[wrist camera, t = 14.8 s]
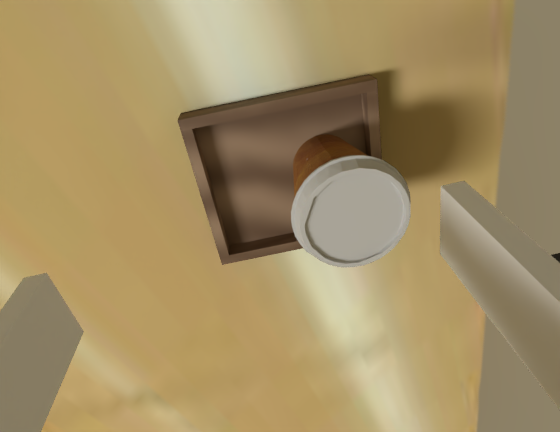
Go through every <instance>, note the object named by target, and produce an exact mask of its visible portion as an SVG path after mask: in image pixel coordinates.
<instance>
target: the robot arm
mask: <svg viewBox="0 0 560 432" xmlns="http://www.w3.org/2000/svg"><path fill="white" fill-rule="evenodd" d="M440 254H441V256H442V257H443V258H444V259H445V261H446V262H447V263H448V265H449V266H450V267H451V269H452V270H453V271H454V273H455V274H456V275H457V277H458V278H459V279H460V280H461V282H462V283H463V284H464V286H465V287H466V288H467V290H468V291H469V292H470V294H471V295H472V296H473V298H474V299H475V300H476V301H477V303H478V304H479V305H480V307H481V308H482V309H483V311H484V312H485V313H486V315H487V316H488V317H489V318H490V320H491V321H492V322H493V324H494V325H495V326H496V328H497V329H498V330H499V331H500V333H501V334H502V335H503V337H504V338H505V339H506V341H507V342H508V343H509V345H510V346H511V347H512V349H513V350H514V351H515V352H516V354H517V355H518V357H519V358H520V359H521V360H522V362H523V363H524V364H525V366H526V367H527V368H528V370H529V371H530V372H531V374H532V375H533V376H534V378H535V379H536V380H537V381H538V383H539V384H540V385H541V386H542V388H543V389H544V391H545V392H546V393H547V394H548V396H549V397H550V399H551V400H552V401H553V402H554V404H555V405H556V406H557V408H558V409H559V410H560V253H558V254H554V255H550V254H549V253H548V252H546V251H545V250H544V249H543V248H542V247H541V246H539V245H538V244H537V243H536V242H535V241H534V240H532V239H531V238H530V237H529V236H528V235H527V234H525V233H524V232H523V231H522V230H521V229H520V228H519V227H517V226H516V225H515V224H514V223H513V222H512V221H510V220H509V219H508V218H507V217H506V216H505V215H503V214H502V213H501V212H500V211H499V210H498V209H496V208H495V207H494V206H493V205H492V204H491V203H489V202H488V201H487V200H486V199H485V198H484V197H482V196H481V195H480V194H479V193H478V192H477V191H475V190H474V189H473V188H472V187H471V186H470V185H468V184H467V183H466V182H465V181H461V182H456V183H452V184H447V185H443V186H441V215H440ZM83 332H84V331H83V330H82V328H81V326H80V325H79V323H78V322H77V320H76V318H75V317H74V315H73V314H72V312H71V311H70V309H69V307H68V306H67V304H66V303H65V301H64V299H63V298H62V296H61V295H60V293H59V292H58V290H57V288H56V287H55V285H54V284H53V282H52V281H51V279H50V277H49V276H48V274H47V273H44V274H39V275H35V276H30V277H26V278H23V280H22V281H21V283H20V284H19V286H18V287H17V288H16V290H15V291H14V293H13V294H12V295H11V297H10V298H9V300H8V301H7V302H6V304H5V305H4V307H3V308H2V310H1V311H0V432H41V430H42V428H43V425H44V423H45V421H46V418H47V416H48V414H49V411H50V409H51V407H52V404H53V402H54V400H55V397H56V395H57V393H58V390H59V388H60V386H61V383H62V381H63V379H64V376H65V374H66V372H67V369H68V367H69V365H70V362H71V360H72V358H73V355H74V353H75V351H76V348H77V346H78V344H79V341H80V339H81V337H82V334H83Z"/></svg>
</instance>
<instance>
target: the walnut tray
mask: <svg viewBox="0 0 560 432" xmlns="http://www.w3.org/2000/svg"><path fill="white" fill-rule="evenodd" d="M178 123H179V126H180V130H181V133H182V136H183V139H184V143H185V146H186V149H187V152H188V156H189V159H190V162H191V165H192V169H193V172H194V175H195V178H196V181H197V185H198V188H199V191H200V194H201V198H202V201H203V204H204V207H205V211H206V214H207V217H208V220H209V224H210V227H211V230H212V233H213V236H214V240H215V243H216V246H217V249H218V253H219V256H220V259H221V262H222V265H224V264H228V263H233V262H238V261H243V260H248V259H253V258H257V257H262V256H267V255H272V254H277V253H282V252H286V251H291V250H296V249H301V248H303V247H302V246H301V245H300V243H299V242H298V240H297V238H296V237H295V234H294V231H293V228H292V223H291V210H292V205H293V201H294V198H295V196H294V175H293V161H294V157H295V155H296V153H297V151H298V149H299V148H300V147H301V145H302V144H303V143H305V142H306V141H307V140H309V139H311V138H313V137H314V136H318V135H324V134H329V135H334V136H337V137H339V138H341V139H343V140H344V141H346V142H347V143H349V144H350V145H352V146H354V147H355V148H357V149H358V150H360V151H362V152H363V153H364V154H366V155H368V156H372V157H376V158H378V159H381V160H382V156H381V139H380V122H379V105H378V88H377V79H376V78H374V77H372V76H371V75H369V74H368V75H364V76H359V77H354V78H349V79H344V80H339V81H335V82H330V83H325V84H320V85H315V86H310V87H306V88H301V89H296V90H291V91H286V92H281V93H277V94H272V95H267V96H262V97H257V98H252V99H248V100H243V101H238V102H233V103H228V104H223V105H219V106H214V107H209V108H204V109H199V110H194V111H190V112H185V113H181V114H180V116H179V119H178Z"/></svg>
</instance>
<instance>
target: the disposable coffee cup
mask: <svg viewBox="0 0 560 432" xmlns="http://www.w3.org/2000/svg"><path fill="white" fill-rule="evenodd" d="M293 175H294V196H295V198H294V201H293V205H292V210H291V223H292V228H293V231H294V234H295V237H296V238H297V240H298V242H299V243H300V245H301V246H302V247H303V248H304V249H305V250H306V251H307V252H308V253H310V254H311V255H313V256H315V257H316V258H317V259H319V260H320V261H322V262H325V263H327V264H329V265H333V266H337V267H357V266H362V265H366V264H369V263H371V262H374V261H376V260H378V259H380V258H381V257H383V256H384V255H386V254H387V253H388V252H390V251H391V250H392V249H393V248H394V247H395V246H396V245H397V243H398V242H399V241H400V239H401V238H402V236H403V235H404V234H405V231H406V229H407V227H408V224H409V220H410V192H409V189H408V186H407V183H406V182H405V180H404V178H403V176H402V175H401V174H400V173H399V172H398V171H397V169H396V168H395V167H393V166H391V165H390V164H388V163H387V162H385V161H384V160H381V159H378V158H376V157H372V156H368V155H366V154H364V153H363V152H362V151H360V150H358V149H357V148H355V147H354V146H352V145H350V144H349V143H347V142H346V141H344V140H343V139H341V138H339V137H337V136H334V135H329V134H324V135H318V136H314V137H313V138H311V139H309V140H307V141H306V142H305V143H303V144H302V145H301V147H300V148H299V149H298V151H297V153H296V155H295V157H294V161H293Z"/></svg>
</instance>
